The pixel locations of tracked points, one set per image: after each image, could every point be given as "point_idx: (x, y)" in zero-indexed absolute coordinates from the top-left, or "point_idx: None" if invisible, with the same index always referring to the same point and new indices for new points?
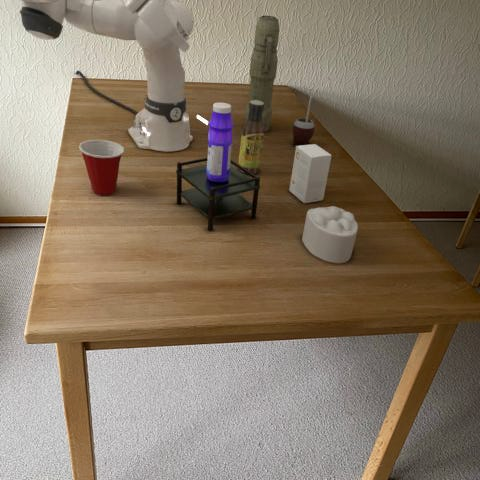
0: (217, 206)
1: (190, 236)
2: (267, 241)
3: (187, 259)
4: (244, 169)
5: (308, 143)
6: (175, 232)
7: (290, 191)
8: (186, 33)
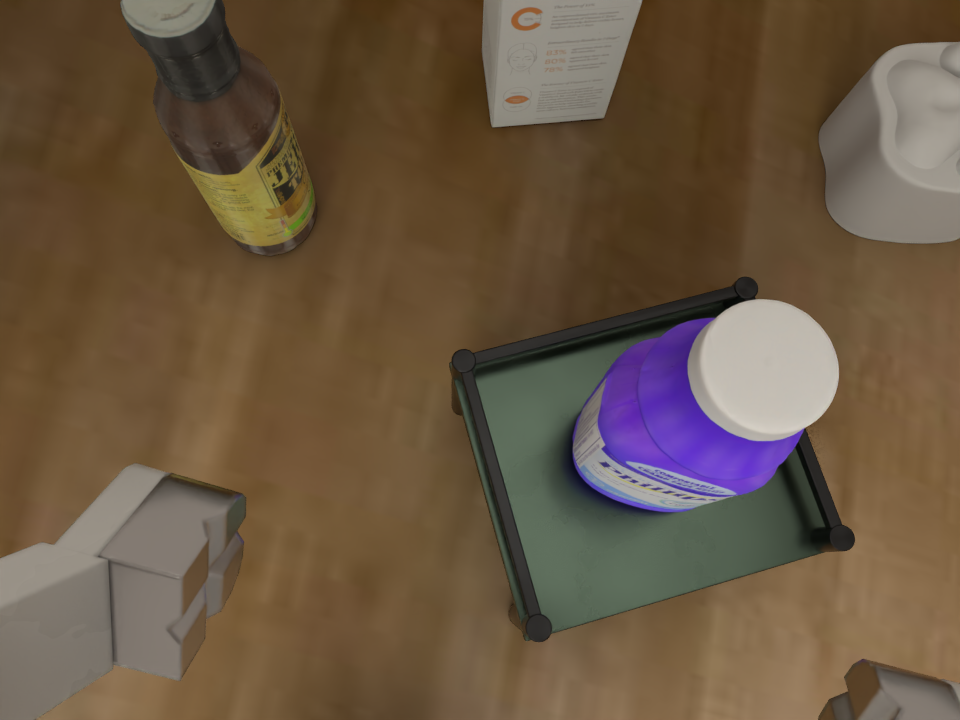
0: None
1: (792, 638)
2: (855, 358)
3: None
4: (651, 316)
5: None
6: (755, 692)
7: (502, 126)
8: (206, 531)
